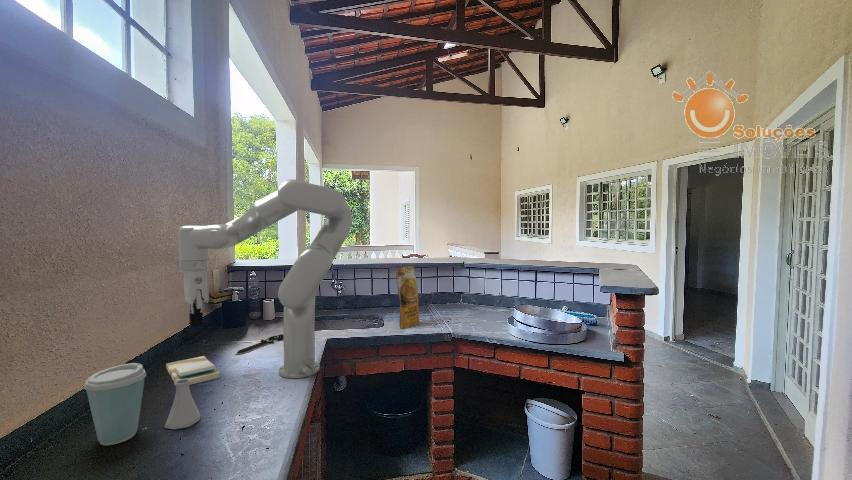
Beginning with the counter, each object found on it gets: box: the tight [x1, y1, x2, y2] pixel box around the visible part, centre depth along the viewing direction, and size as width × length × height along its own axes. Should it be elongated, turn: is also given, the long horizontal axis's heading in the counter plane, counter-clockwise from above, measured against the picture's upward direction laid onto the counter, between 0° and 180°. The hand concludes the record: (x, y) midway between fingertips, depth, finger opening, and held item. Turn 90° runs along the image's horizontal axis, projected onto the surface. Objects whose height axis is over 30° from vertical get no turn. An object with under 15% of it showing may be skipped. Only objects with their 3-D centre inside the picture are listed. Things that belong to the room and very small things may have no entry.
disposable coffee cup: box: [84, 362, 147, 447], centre depth 83 cm, size 11×11×15 cm
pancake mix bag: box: [395, 265, 421, 329], centre depth 179 cm, size 7×19×28 cm, turn 150°
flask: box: [164, 378, 202, 430], centre depth 89 cm, size 7×7×10 cm
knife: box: [234, 333, 284, 356], centre depth 147 cm, size 25×6×1 cm, turn 154°
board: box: [165, 355, 221, 386], centre depth 119 cm, size 20×11×2 cm, turn 42°
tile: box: [175, 359, 216, 377], centre depth 116 cm, size 9×9×1 cm
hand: (196, 325), depth 115 cm, fingers closed
